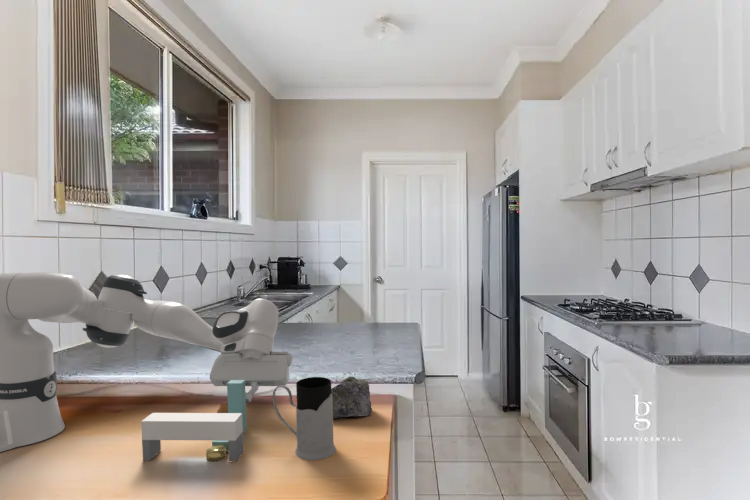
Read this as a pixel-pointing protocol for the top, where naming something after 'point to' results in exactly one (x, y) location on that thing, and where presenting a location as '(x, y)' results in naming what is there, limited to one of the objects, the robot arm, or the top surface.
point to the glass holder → (312, 418)
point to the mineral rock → (351, 398)
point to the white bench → (192, 430)
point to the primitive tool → (223, 408)
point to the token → (216, 453)
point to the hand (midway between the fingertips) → (244, 400)
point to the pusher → (235, 405)
